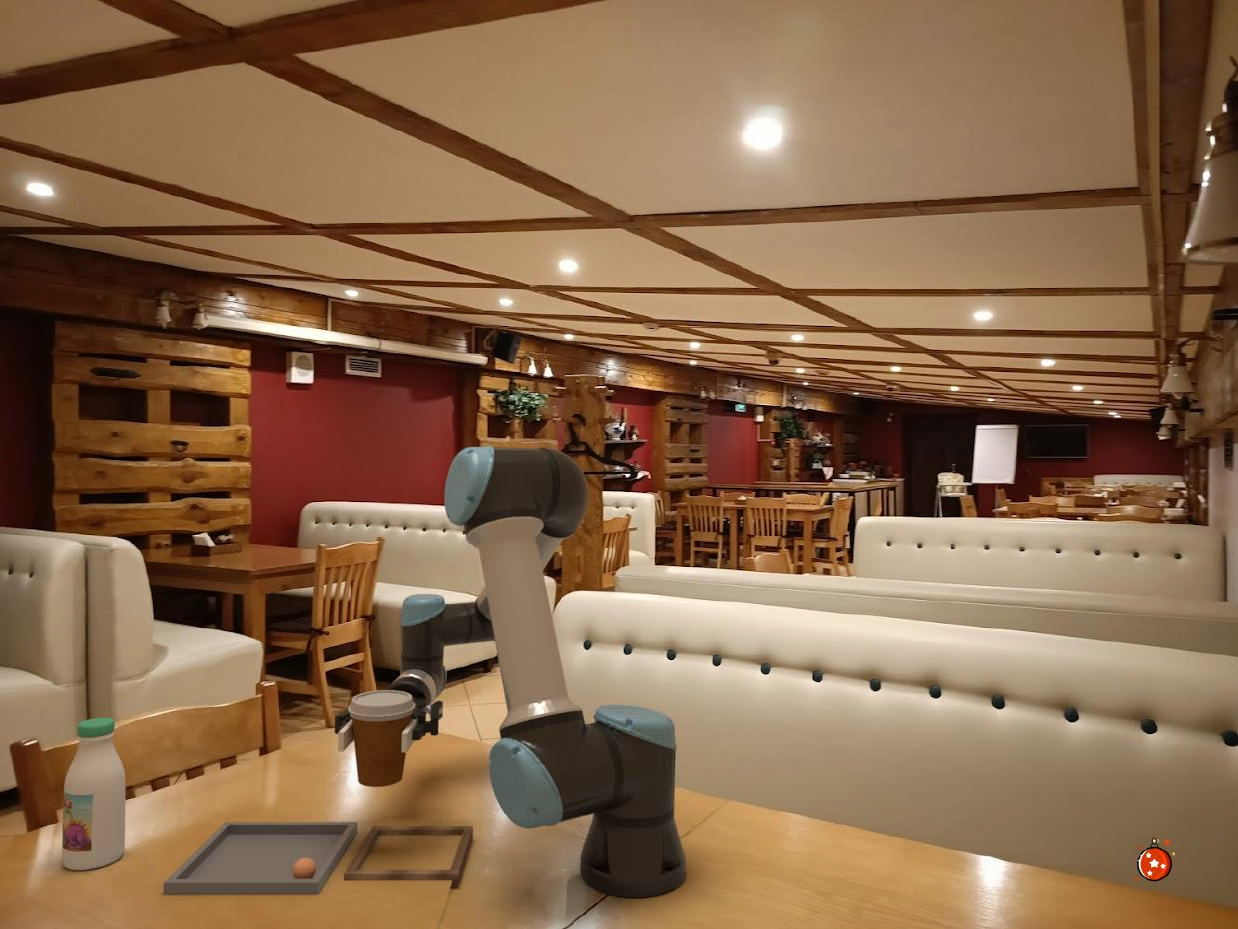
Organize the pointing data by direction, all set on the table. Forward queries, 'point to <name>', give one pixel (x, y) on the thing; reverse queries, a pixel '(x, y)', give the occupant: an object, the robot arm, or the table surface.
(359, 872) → the frame
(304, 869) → the ball
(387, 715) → the disposable coffee cup
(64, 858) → the milk bottle
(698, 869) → the table surface
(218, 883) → the tray
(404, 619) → the robot arm
